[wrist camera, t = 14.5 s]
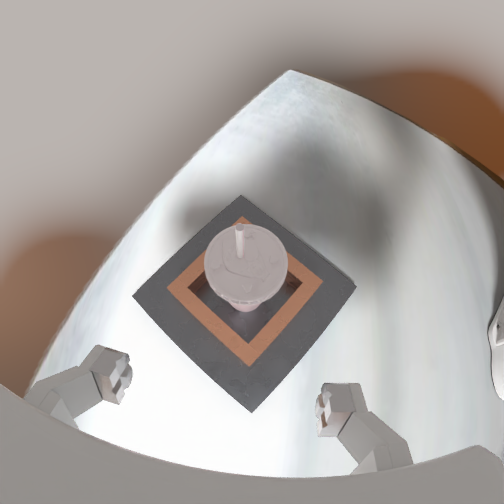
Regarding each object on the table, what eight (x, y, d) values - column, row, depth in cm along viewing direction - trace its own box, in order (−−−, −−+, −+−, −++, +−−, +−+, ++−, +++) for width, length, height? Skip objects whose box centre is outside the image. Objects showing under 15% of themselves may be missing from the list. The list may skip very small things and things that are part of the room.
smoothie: (242, 256, 31) (242, 174, 19) (287, 292, 30) (319, 229, 17) (202, 297, 29) (172, 237, 17) (248, 337, 28) (252, 307, 15)
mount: (240, 199, 36) (240, 180, 32) (353, 289, 31) (367, 278, 28) (135, 298, 30) (121, 288, 26) (251, 411, 25) (252, 417, 22)
